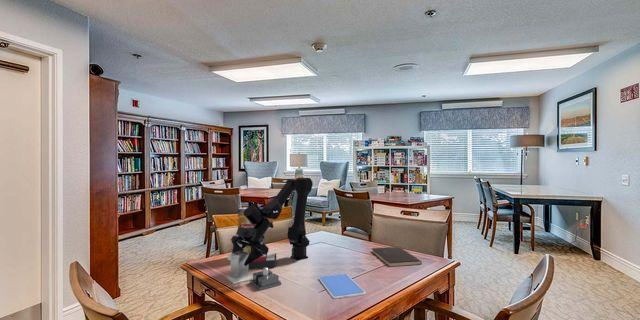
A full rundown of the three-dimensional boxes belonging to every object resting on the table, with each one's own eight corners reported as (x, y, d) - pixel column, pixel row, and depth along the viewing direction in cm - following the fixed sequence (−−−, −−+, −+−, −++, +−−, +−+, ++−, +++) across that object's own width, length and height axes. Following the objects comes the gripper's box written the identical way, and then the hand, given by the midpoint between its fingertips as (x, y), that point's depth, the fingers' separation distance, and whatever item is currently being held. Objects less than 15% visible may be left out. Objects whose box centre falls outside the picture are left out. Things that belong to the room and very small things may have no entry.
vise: (270, 277, 127) (270, 262, 127) (281, 284, 120) (281, 269, 120) (250, 282, 122) (250, 267, 122) (259, 290, 115) (259, 274, 115)
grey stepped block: (240, 274, 129) (240, 250, 129) (248, 277, 126) (248, 252, 126) (225, 280, 123) (225, 254, 123) (233, 283, 120) (233, 257, 120)
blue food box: (263, 253, 159) (263, 207, 159) (263, 258, 152) (263, 209, 152) (239, 255, 157) (239, 207, 157) (237, 259, 150) (237, 210, 150)
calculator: (244, 254, 148) (276, 251, 150) (244, 263, 148) (276, 260, 150) (240, 261, 137) (275, 258, 139) (241, 271, 137) (275, 268, 139)
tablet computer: (366, 296, 111) (366, 292, 111) (333, 300, 107) (333, 297, 107) (346, 276, 130) (346, 273, 130) (317, 280, 126) (317, 276, 126)
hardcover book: (388, 267, 140) (388, 262, 140) (371, 252, 163) (371, 248, 163) (421, 265, 143) (421, 260, 143) (400, 250, 166) (400, 246, 166)
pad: (245, 274, 131) (245, 273, 131) (252, 280, 125) (252, 278, 125) (227, 278, 126) (227, 277, 126) (233, 284, 120) (233, 283, 120)
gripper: (234, 216, 135) (211, 247, 126) (262, 222, 123) (239, 256, 114) (249, 231, 141) (228, 262, 132) (277, 237, 129) (256, 272, 121)
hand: (237, 263), depth 125 cm, fingers open, 9 cm apart
